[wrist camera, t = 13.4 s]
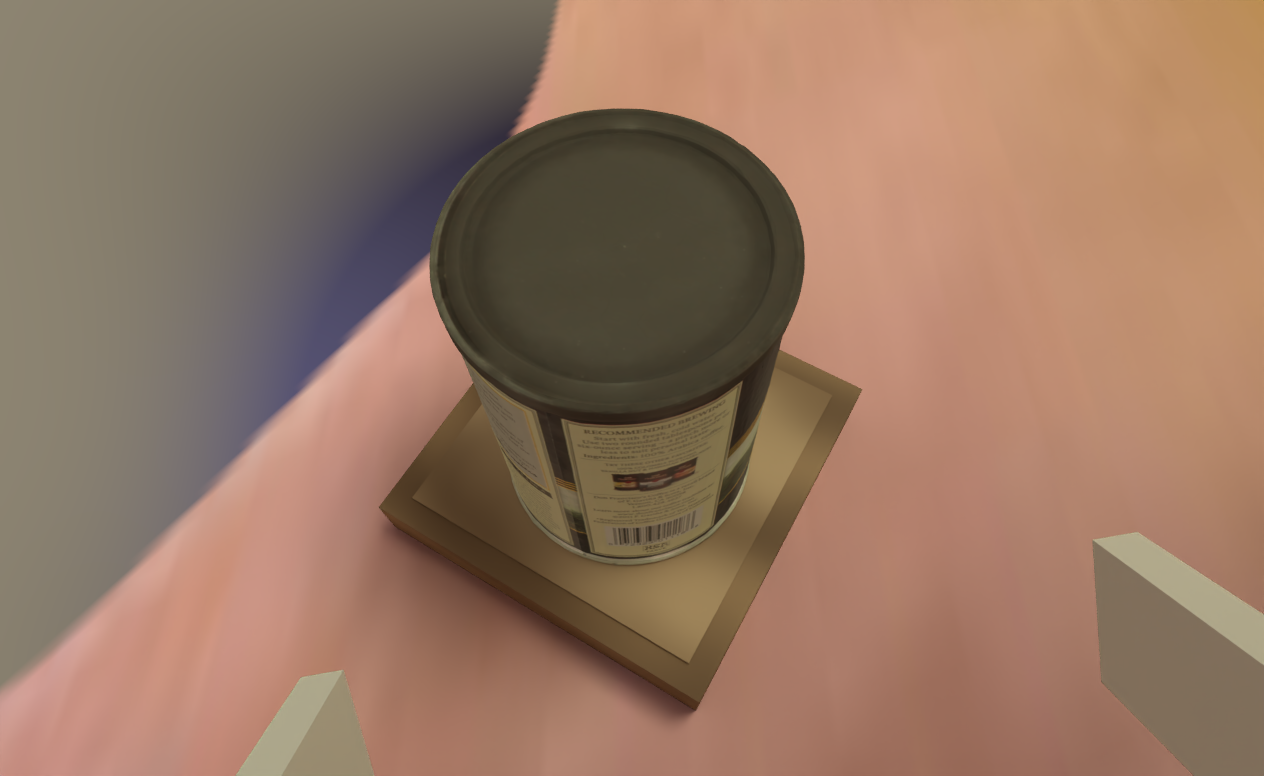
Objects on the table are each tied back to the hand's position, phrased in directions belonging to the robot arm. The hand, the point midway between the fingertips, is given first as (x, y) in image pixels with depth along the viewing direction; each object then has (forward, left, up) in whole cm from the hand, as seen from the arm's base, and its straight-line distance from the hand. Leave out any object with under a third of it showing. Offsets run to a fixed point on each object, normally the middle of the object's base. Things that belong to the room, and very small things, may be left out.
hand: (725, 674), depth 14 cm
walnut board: (-9, -8, -20) cm, 23 cm away
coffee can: (-9, -8, -17) cm, 21 cm away
